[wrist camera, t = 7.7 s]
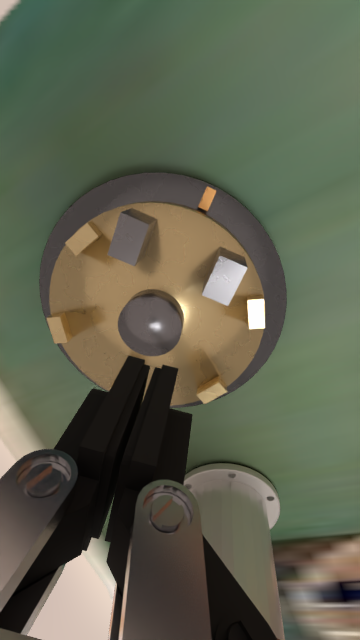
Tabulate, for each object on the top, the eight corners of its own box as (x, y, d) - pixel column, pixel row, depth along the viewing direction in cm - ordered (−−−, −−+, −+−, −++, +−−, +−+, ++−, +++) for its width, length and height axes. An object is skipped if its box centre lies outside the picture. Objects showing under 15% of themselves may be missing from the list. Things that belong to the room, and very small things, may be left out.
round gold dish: (209, 418, 33) (207, 456, 29) (41, 350, 32) (12, 379, 28) (303, 256, 26) (321, 274, 21) (89, 161, 25) (59, 159, 20)
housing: (261, 410, 34) (263, 421, 33) (58, 385, 36) (51, 395, 34) (308, 182, 25) (314, 183, 24) (34, 163, 27) (22, 162, 25)
